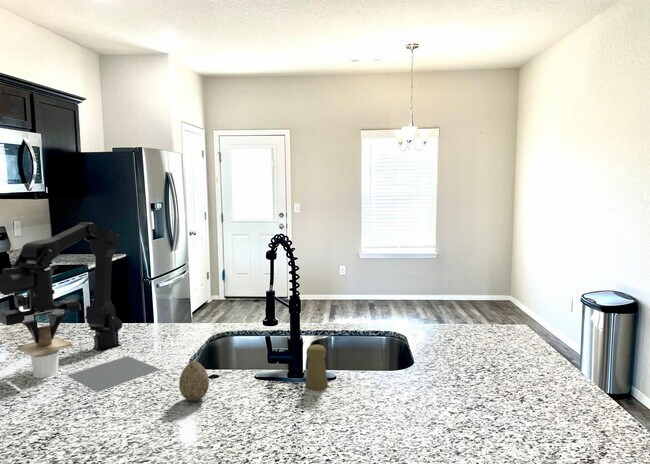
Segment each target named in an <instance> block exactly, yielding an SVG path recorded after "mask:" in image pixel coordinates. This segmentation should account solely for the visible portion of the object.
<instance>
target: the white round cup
mask: <svg viewBox="0 0 650 464" xmlns="http://www.w3.org/2000/svg"><path fill="white" fill-rule="evenodd" d="M59 353H60V349H59V350H55V351H52V352H48V353H44V354H40V355H37V356H33V357H31V356H30V361H31V366H32V370H33V376H34V378H36V379H44V378H49V377H53V376H55V375H57V374H58V373H59V372H58V371H59Z"/></svg>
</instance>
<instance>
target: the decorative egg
mask: <svg viewBox="0 0 650 464" xmlns="http://www.w3.org/2000/svg"><path fill="white" fill-rule="evenodd" d="M209 385H210V379H209V375H208V372H207V370H206V369H205V367H204V366H203V365H202V364H201V363H200V362H198V361H196V360H192V361H190V362H188V363H187V364H186V366H185V367H184V368H183V370H182V372H181V373H180V376H179V383H178V388H179V391H180V394H181V395H182V397H183V398H184V399H186V400H188V401H190V402H195V401H196V402H197V401H199V400H201V399H202V398H204V397H205V396H206V394H207V392H208V390H209Z"/></svg>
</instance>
